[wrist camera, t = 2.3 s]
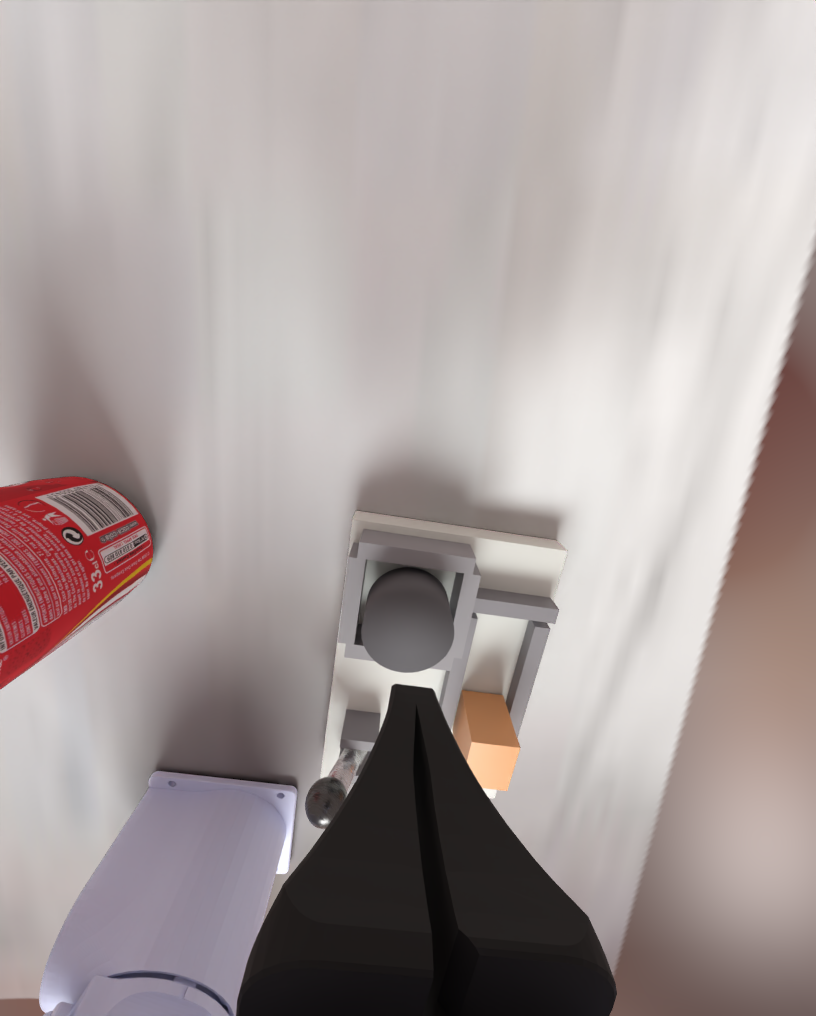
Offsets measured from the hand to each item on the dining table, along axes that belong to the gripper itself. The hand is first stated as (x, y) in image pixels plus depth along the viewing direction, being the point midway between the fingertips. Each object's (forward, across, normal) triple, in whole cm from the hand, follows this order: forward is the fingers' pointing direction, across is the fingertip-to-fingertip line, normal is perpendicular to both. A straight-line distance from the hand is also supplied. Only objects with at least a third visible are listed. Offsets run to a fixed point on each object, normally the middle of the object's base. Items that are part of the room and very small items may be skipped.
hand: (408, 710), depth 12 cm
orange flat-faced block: (+8, -5, +7) cm, 12 cm away
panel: (+9, -2, +5) cm, 11 cm away
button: (+7, 0, 0) cm, 7 cm away
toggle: (+7, +1, +10) cm, 12 cm away
